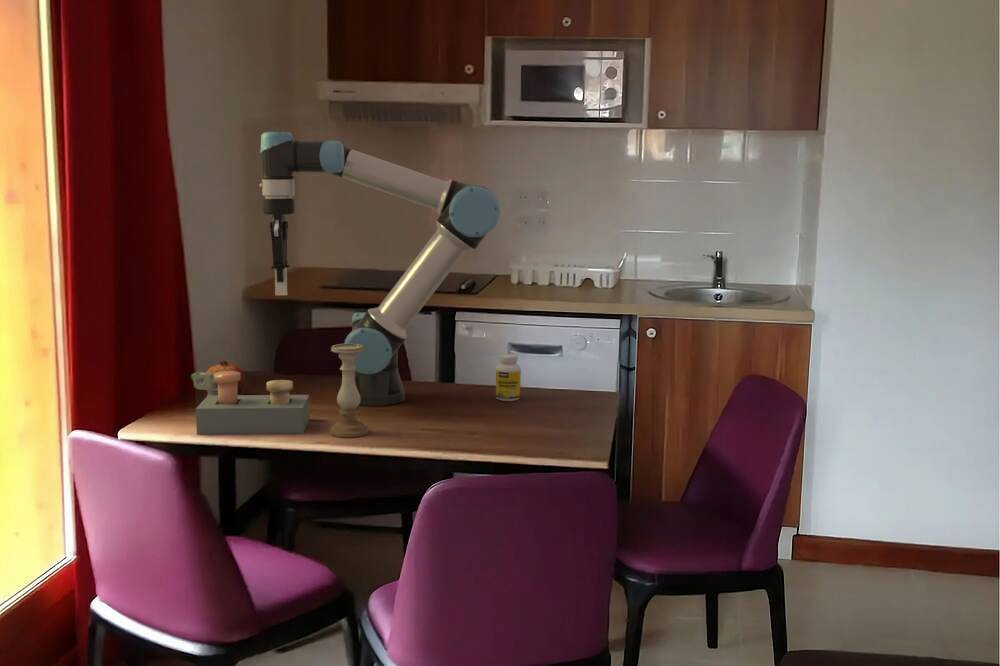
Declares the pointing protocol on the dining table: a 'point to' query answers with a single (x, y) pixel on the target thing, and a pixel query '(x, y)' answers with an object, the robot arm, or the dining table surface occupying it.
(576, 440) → the dining table surface
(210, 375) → the mechanical component
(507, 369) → the pill bottle
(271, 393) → the beech plug
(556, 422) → the dining table surface
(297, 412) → the socket board
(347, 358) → the candle holder
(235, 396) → the terracotta plug
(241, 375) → the fruit
